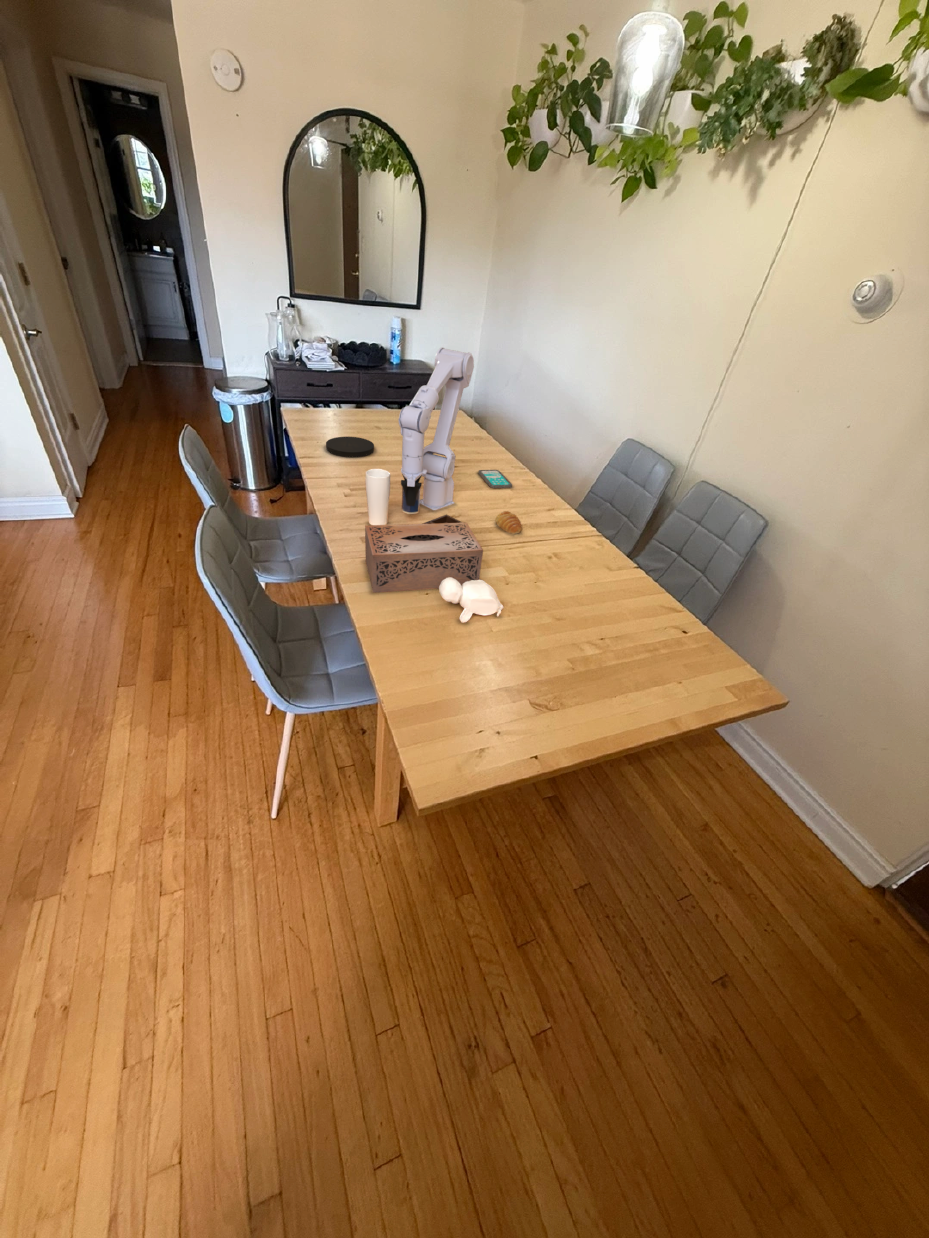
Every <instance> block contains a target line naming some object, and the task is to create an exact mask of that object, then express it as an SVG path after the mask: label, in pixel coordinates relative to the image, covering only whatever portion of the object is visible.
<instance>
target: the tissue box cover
mask: <svg viewBox="0 0 929 1238" xmlns="http://www.w3.org/2000/svg"><path fill="white" fill-rule="evenodd" d="M364 540H365V541H364V545H365V547H364V548H365V551H364V552H365V565H366V569H367V572H368V577H369V582H370V586H371V590H372V594H374V593H389V592H407V591H420V590H435V589H436V590H437V589H438V590H439V586H440V584H441V582H442V581H443V580H444V579H446V578H448V577H452V578H454V579H456V580H457V581H458V582H459V583H460V584H461V586H462V584H463V583H465V582H467V581H471V580H480V575H481V568H482V561H483V554H484V549H483V547H482V546H481V543H479V541H478V539H477V537H476V536H475V534H474V532H473V531H472V529H471V527H470V526H469V524H468V522H463V523H433V524H422V523H408V524H407V523H403V524H386V525H371V524H370V525H369V524H368V525H366V524H365V525H364Z"/></svg>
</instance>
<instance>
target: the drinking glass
mask: <svg viewBox="0 0 929 1238" xmlns="http://www.w3.org/2000/svg"><path fill="white" fill-rule="evenodd" d="M364 477H365V479H364V482H365V495H366V504H367V514H368V515H367V516H368V524H370V525H388V515H389V504H390V496H391V472H389V471H388V470H386V469H383V468H371V469H368V470H366V471H365V476H364Z"/></svg>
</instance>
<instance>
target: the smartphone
mask: <svg viewBox="0 0 929 1238" xmlns="http://www.w3.org/2000/svg"><path fill="white" fill-rule="evenodd" d="M478 475H479V476H480V477H481V478H482V479H483V480H484V482H485V483H486V484H487V486H489V488H492V489H506V488H507V489H509V488H512V487H513V483H512V482H511V481H510V480H509V479H508V478H507V477H506V476H505V475H504V474H503V473H502V472H501V471H500V470H499V469H478Z"/></svg>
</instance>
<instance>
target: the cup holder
mask: <svg viewBox="0 0 929 1238" xmlns="http://www.w3.org/2000/svg"><path fill="white" fill-rule="evenodd" d="M433 523H464V522H463V521H462V520H461V521H460V520H459V519H457V518H455V517H453V516H451V515H449V514H444V515H442V516H439V517H436V518H433V519H431V520H427V521H425V522H423V523H421V524H433Z"/></svg>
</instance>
